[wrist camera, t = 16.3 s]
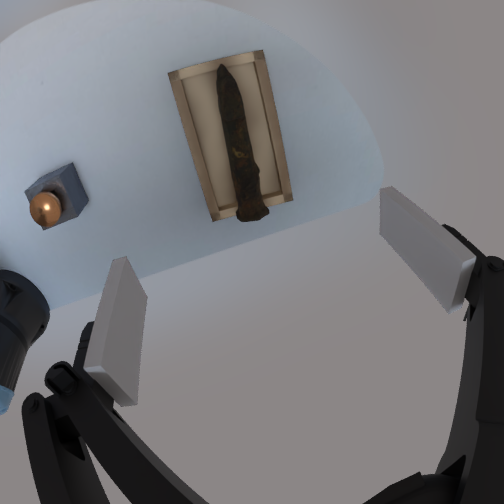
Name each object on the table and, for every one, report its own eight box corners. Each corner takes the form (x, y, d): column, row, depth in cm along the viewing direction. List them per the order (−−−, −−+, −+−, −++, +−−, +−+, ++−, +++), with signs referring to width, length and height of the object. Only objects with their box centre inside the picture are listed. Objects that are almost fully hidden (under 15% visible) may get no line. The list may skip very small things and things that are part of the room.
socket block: (56, 213, 39) (43, 230, 35) (39, 177, 36) (24, 191, 32) (88, 200, 39) (77, 216, 35) (72, 162, 36) (58, 174, 32)
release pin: (57, 207, 38) (39, 231, 33) (45, 181, 36) (24, 201, 30) (81, 197, 38) (64, 220, 33) (69, 170, 36) (50, 189, 30)
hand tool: (265, 206, 41) (273, 222, 38) (235, 212, 41) (239, 229, 37) (244, 61, 31) (251, 59, 27) (209, 66, 31) (211, 65, 27)
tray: (211, 213, 44) (212, 221, 41) (169, 73, 32) (167, 73, 30) (288, 192, 44) (293, 200, 41) (258, 51, 32) (262, 49, 30)
